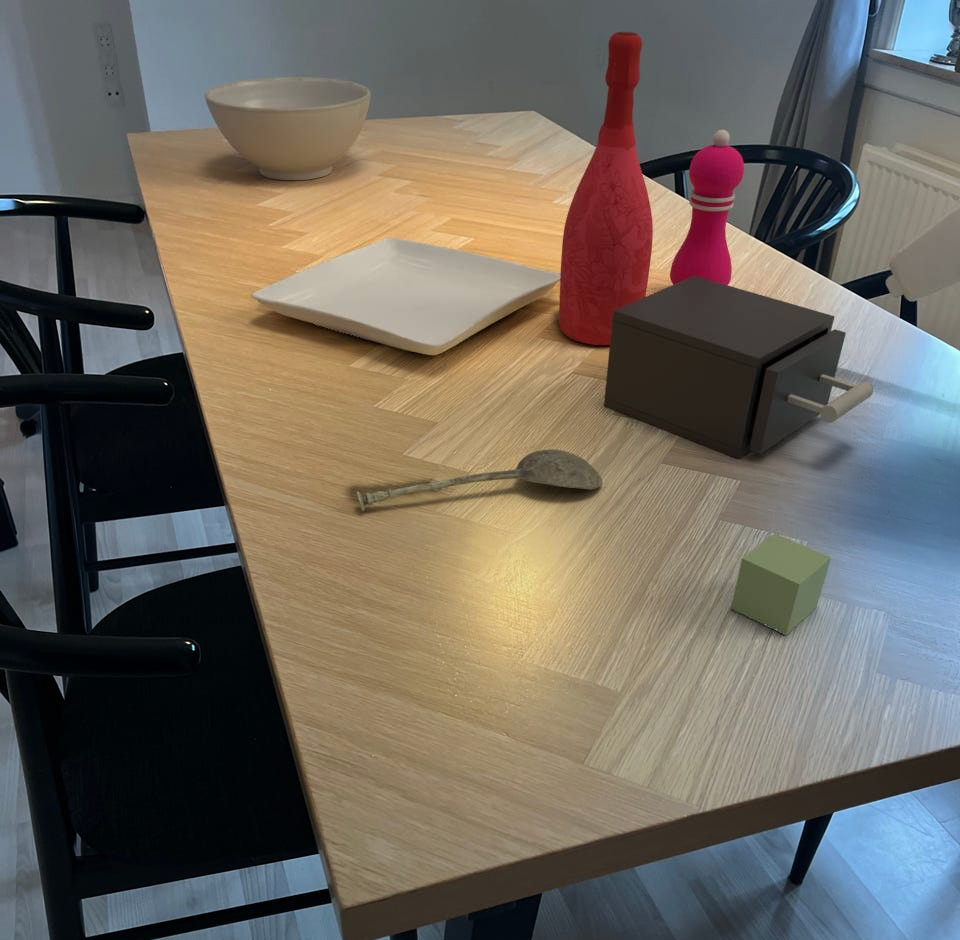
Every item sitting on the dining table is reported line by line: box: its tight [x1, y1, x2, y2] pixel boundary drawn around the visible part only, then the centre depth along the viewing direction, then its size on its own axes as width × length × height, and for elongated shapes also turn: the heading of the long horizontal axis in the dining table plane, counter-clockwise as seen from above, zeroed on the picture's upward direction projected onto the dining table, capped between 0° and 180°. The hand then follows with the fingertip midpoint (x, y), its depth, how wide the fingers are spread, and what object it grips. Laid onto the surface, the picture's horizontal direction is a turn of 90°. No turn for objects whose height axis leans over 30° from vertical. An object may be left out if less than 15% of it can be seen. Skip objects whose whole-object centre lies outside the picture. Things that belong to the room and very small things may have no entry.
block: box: [730, 533, 832, 635], centre depth 71 cm, size 5×5×5 cm
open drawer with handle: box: [748, 329, 874, 455], centre depth 93 cm, size 20×13×8 cm, turn 47°
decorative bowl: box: [204, 76, 372, 181], centre depth 164 cm, size 27×27×12 cm
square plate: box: [250, 237, 561, 356], centre depth 117 cm, size 27×27×4 cm
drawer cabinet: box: [603, 276, 835, 460], centre depth 96 cm, size 16×14×10 cm
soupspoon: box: [356, 448, 603, 513], centre depth 85 cm, size 22×3×7 cm
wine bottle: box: [558, 31, 654, 346], centre depth 104 cm, size 10×10×30 cm
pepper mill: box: [669, 129, 745, 286], centre depth 113 cm, size 7×7×20 cm
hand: (896, 285), depth 80 cm, fingers closed
